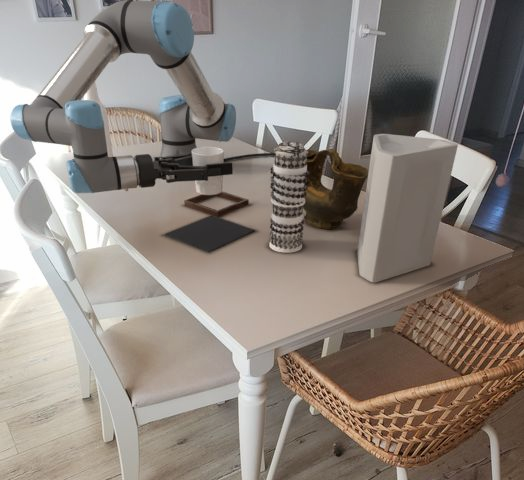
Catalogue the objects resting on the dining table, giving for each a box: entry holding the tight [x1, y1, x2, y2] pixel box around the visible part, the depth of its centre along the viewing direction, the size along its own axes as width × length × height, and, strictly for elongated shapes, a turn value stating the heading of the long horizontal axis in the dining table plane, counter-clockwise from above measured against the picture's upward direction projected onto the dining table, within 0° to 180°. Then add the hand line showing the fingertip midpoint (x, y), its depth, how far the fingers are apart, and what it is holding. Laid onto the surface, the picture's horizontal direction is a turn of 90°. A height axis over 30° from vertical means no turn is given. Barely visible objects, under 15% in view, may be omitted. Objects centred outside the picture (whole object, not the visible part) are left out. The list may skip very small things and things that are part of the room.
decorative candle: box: [268, 141, 309, 254], centre depth 125 cm, size 9×9×25 cm
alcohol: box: [83, 81, 114, 157], centre depth 177 cm, size 9×9×30 cm
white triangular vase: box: [356, 133, 459, 284], centre depth 118 cm, size 19×15×28 cm
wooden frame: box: [183, 191, 250, 218], centre depth 154 cm, size 14×14×2 cm
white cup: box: [192, 146, 225, 195], centre depth 130 cm, size 8×8×10 cm
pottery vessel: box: [303, 148, 369, 230], centre depth 140 cm, size 25×11×20 cm, turn 40°
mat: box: [164, 214, 255, 253], centre depth 138 cm, size 18×16×1 cm
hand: (226, 163), depth 130 cm, fingers closed on white cup, 8 cm apart
